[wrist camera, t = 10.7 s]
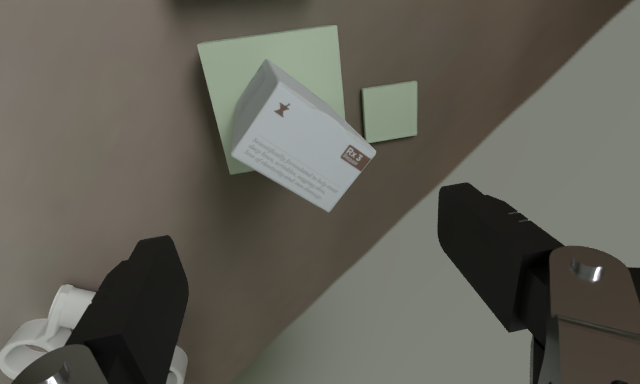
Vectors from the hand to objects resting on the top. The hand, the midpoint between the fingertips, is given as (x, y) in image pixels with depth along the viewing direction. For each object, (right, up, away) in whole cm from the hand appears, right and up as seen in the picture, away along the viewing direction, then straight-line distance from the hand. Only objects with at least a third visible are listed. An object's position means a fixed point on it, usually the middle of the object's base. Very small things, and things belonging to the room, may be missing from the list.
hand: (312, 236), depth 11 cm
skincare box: (-2, +8, +17) cm, 19 cm away
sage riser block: (-3, +10, +20) cm, 23 cm away
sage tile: (+7, +9, +23) cm, 25 cm away
